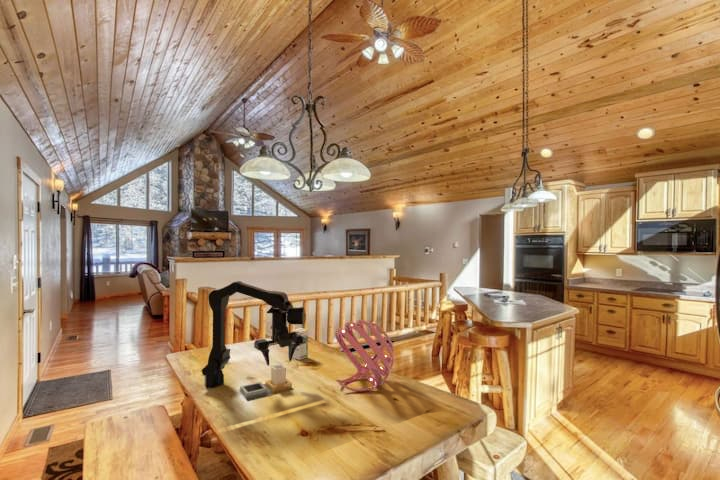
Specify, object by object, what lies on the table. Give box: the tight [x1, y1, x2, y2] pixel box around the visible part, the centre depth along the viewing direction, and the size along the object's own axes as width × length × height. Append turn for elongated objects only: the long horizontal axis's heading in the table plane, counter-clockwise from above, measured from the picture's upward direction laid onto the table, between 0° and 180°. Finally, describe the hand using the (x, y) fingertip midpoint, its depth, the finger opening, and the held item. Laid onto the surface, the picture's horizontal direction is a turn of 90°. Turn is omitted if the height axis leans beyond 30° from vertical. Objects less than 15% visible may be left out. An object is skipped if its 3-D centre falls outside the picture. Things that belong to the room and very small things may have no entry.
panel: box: [238, 378, 294, 402], centre depth 135 cm, size 18×12×3 cm, turn 125°
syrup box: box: [291, 327, 309, 361], centre depth 178 cm, size 6×6×14 cm
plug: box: [270, 363, 287, 386], centre depth 138 cm, size 4×4×8 cm
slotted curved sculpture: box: [334, 319, 395, 393], centre depth 142 cm, size 28×28×27 cm
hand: (279, 363), depth 138 cm, fingers open, 9 cm apart
